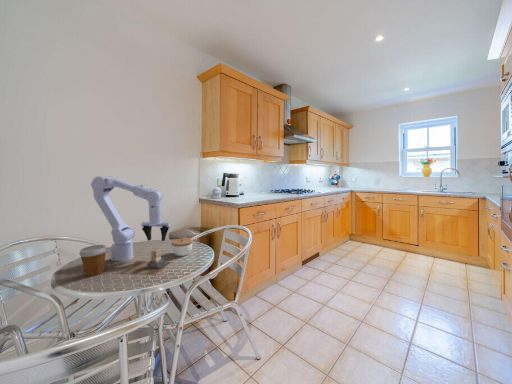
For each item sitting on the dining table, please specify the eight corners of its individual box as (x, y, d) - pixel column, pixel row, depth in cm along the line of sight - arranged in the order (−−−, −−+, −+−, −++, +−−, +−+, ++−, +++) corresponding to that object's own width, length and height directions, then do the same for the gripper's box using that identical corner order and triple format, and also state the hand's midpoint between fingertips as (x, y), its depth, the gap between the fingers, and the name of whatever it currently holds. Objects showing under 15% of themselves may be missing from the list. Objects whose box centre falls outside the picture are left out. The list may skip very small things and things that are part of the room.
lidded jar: (186, 259, 111) (185, 241, 110) (167, 258, 113) (167, 240, 112) (196, 252, 121) (195, 235, 121) (179, 251, 123) (178, 235, 123)
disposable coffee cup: (94, 281, 89) (92, 252, 88) (75, 279, 90) (73, 251, 89) (113, 270, 98) (111, 245, 97) (95, 269, 100) (93, 244, 99)
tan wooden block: (151, 266, 100) (151, 251, 99) (156, 262, 104) (155, 248, 103) (156, 266, 100) (156, 251, 99) (161, 262, 103) (160, 248, 103)
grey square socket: (144, 268, 98) (144, 263, 98) (153, 262, 105) (153, 257, 105) (159, 269, 98) (159, 263, 98) (167, 262, 105) (166, 257, 105)
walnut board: (116, 275, 94) (116, 273, 94) (136, 262, 108) (136, 260, 107) (156, 276, 92) (156, 274, 92) (171, 263, 106) (171, 261, 106)
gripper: (137, 215, 107) (138, 242, 108) (165, 215, 106) (166, 242, 107) (145, 213, 114) (146, 238, 115) (171, 213, 113) (172, 238, 114)
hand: (156, 240), depth 111 cm, fingers open, 7 cm apart
